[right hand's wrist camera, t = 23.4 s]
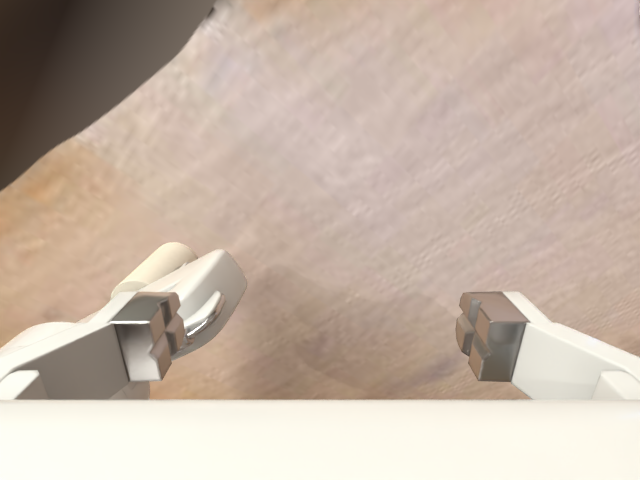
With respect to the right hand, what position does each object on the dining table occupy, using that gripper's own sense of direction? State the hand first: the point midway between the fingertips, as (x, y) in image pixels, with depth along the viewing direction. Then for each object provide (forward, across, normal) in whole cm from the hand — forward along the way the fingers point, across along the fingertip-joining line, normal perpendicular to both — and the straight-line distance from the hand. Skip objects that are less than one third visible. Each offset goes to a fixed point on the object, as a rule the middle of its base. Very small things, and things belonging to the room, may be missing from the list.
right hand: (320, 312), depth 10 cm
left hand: (+21, -15, -11) cm, 28 cm away
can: (+25, -15, -10) cm, 31 cm away
